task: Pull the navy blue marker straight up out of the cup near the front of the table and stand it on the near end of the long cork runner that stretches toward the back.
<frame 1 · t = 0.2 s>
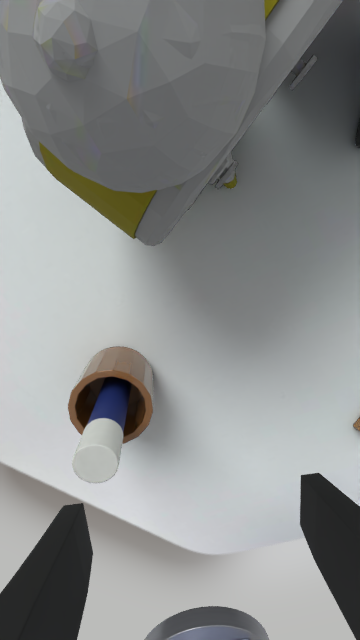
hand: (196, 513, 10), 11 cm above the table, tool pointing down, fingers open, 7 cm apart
cup: (119, 378, 21), on the table, touching marker
alarm clock: (188, 149, 18), on the table
marker: (118, 380, 20), resting on cup
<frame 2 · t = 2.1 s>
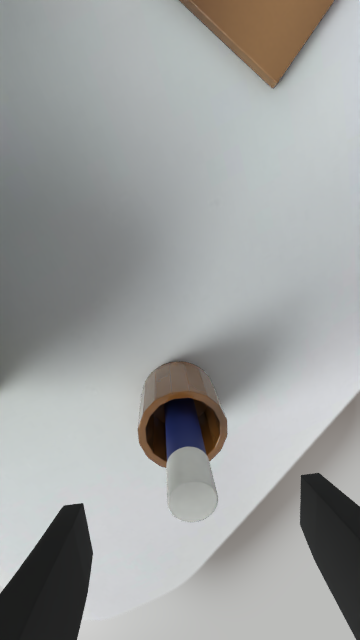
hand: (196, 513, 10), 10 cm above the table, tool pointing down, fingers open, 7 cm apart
cup: (178, 394, 20), on the table, touching marker
marker: (178, 397, 19), resting on cup
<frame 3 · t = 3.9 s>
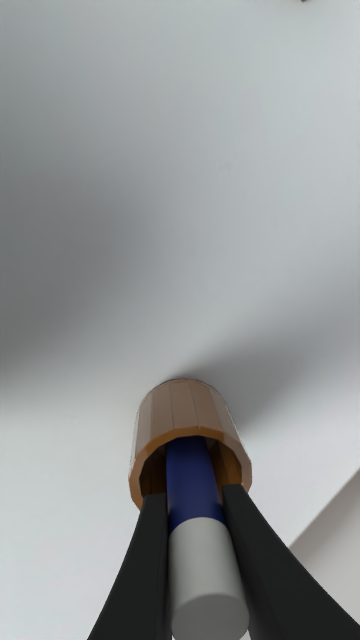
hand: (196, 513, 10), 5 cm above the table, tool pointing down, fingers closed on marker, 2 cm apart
cup: (182, 420, 15), on the table, touching marker
marker: (183, 425, 15), resting on cup, touching gripper
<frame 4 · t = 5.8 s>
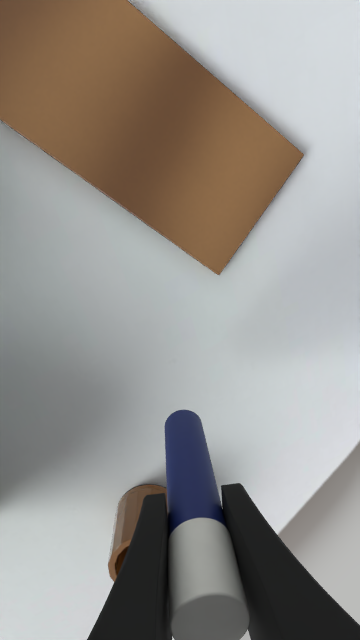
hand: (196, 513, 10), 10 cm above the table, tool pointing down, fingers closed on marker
cup: (148, 510, 22), on the table
runner: (3, 18, 15), on the table
marker: (183, 425, 15), point 5 cm above the table, touching gripper
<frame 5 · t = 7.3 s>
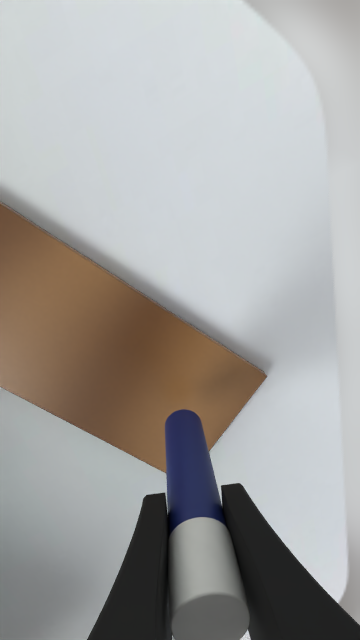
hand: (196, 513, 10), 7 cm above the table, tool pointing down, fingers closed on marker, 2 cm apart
marker: (183, 425, 15), point 2 cm above the table, touching gripper
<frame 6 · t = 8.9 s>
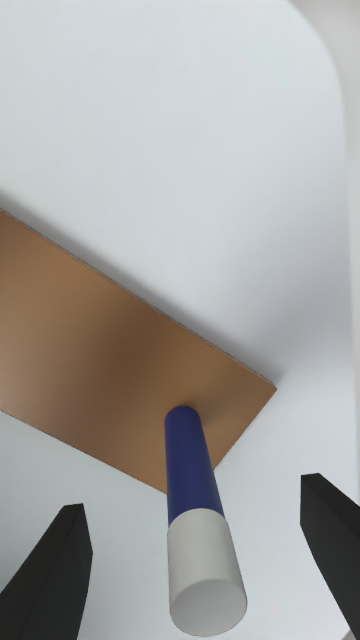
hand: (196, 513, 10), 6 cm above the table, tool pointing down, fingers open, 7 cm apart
marker: (182, 421, 15), point 1 cm above the table, touching runner
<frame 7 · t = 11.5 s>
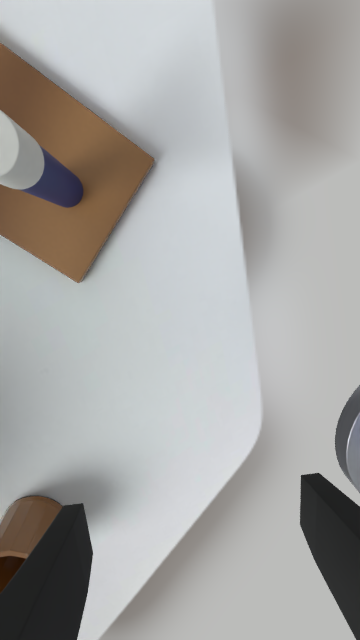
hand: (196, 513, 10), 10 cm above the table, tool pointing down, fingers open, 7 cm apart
cup: (36, 522, 22), on the table
marker: (66, 189, 16), point 1 cm above the table, touching runner
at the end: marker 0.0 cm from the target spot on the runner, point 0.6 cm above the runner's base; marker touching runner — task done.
